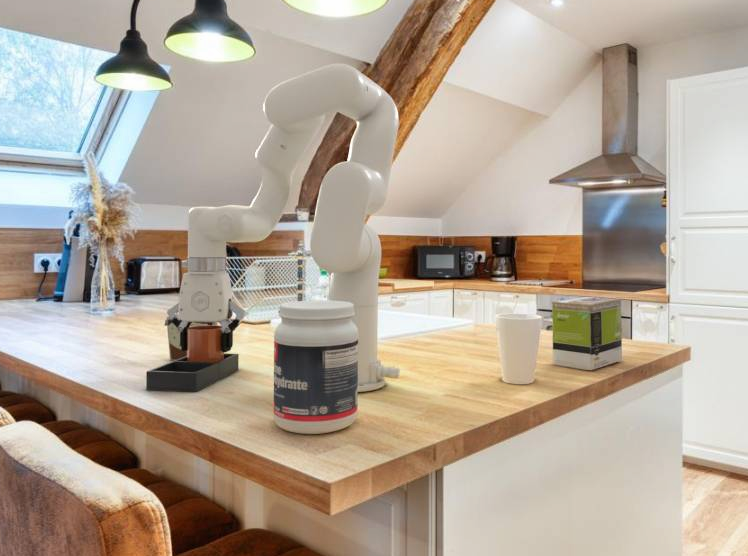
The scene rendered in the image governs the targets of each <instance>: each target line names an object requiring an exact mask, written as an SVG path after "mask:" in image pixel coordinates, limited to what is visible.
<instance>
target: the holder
mask: <svg viewBox="0 0 748 556" xmlns="http://www.w3.org/2000/svg"><path fill="white" fill-rule="evenodd" d="M238 371H239V353H227V352H224V359H223V360H221V361H219V362H190V361H187V356H185V357H183V358H180V359H177V360H175V361H170V362H166V363H164V364H162V365H159V366H157V367H154V368H152V369H149V370H146V372H145V373H146V375H145V376H146V377H145V378H146V379H145V380H146V381H145V383H146V384H145V385H146V387H145V390H146V391H157V392H158V391H159V392H160V391H163V392H183V393H184V392H185V393H186V392H187V393H198V392H199V391H201V390H203V389H205V388H207V387H209V386H211V385H212V384H215V383H216V382H218V381H220V380H222V379H224V378H226V377H228V376H231V375H232V374H234V373H235V372H238Z"/></svg>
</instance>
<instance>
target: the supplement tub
mask: <svg viewBox="0 0 748 556" xmlns="http://www.w3.org/2000/svg"><path fill="white" fill-rule="evenodd" d="M354 315H355V313H354V304H353V303H350V302H344V301H329V299H327V300H325V299H324V300H316V299H315V300H295V301H287V302H283V303H281V304H279V313H278V316H279V317H280V318H281V322H280V323H279V324H278V325H277V326H276V328H275V330H274V334H273V404H272V405H273V410H272V411H273V413H272V417H273V421H274V422H275V424H276V425H277V426H278V427H279V428H280V429H282V430H284V431H287V432H291V433H296V434H301V435H321V434H327V433H333V432H337V431H340V430H343V429H345V428H348V427H350V426H351V425H352V424H353V423H354V422H355V421H356V420H357V417H358V404H359V403H358V402H359V400H358V397H359V395H358V393H359V392H358V336H359V334H358V329H357V327H356V325H355V324H354V323H353V322H352V316H354Z"/></svg>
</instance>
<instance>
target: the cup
mask: <svg viewBox="0 0 748 556" xmlns="http://www.w3.org/2000/svg"><path fill="white" fill-rule="evenodd" d="M222 333H224V330H223V328H222V327H221V325H219V324H218V325H202V326H193V327H189V328H187V361H190V362H219V361H221V360H223V359H224V353H225V352H222Z"/></svg>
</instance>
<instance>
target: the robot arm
mask: <svg viewBox="0 0 748 556" xmlns="http://www.w3.org/2000/svg"><path fill="white" fill-rule="evenodd" d="M334 112H337V113H338V114H341V115H343V116H345V117H347V118H349V119H352V120H353V121H354V122H355V123H356V128H355V130H354V132H353V135H352V137H351V140H350V144H349V151H348V156H347V159H346V160H347V161H341V162H339V163H336V164H334V165H333V166H332V167H331V168H329V170H328V171H327V172H326V174H325V175H324V176H323V179H322V181H321V183H320V187H319V191H318V197H317V201H316V205H315V212H314V218H313V222H312V227H311V234H310V242H309V243H310V244H309V246H310V247H309V248H310V254H311V258H312V260H313V261H314V263H315V264H316V265H317V266H318V267H319V268H320V269H321V270H323V271H324V272H327V273H331V274H330V279H329V286H328V301H344V302H350V303H353V304H354V313H355V315H354V316H352V322H353V323H354V324H355V325H356V327H357V329H358V334H359V336H358V393H364V392H365V393H366V392H372V391H375V390H379V389H381V388H383V387H384V386H385V385H386V379H385V378H387V379H399V378H400V375H401V374H400V370H401V369H400V368H399V367H396V366H384V364H382V359H378V327H379V325H378V322H379V321H378V317H379V315H378V313H379V312H378V311H379V307H378V305H379V279H380V271H381V263H382V243H381V240H380V237H379V235H378V233H377V232H376V231H375V230H374V229H373V228H372V227H371V226H370V225H368V224H367V223H366V218H367V216H370V215H374V214H376V213H377V212H379V211H380V210H381V209H382V208H383V207H384V204H385V202H386V199H387V196H388V195H387V194H388V189H389V188H388V187H389V182H390V177H391V172H392V166H393V161H394V155H395V154H394V153H395V149H396V143H397V138H398V132H399V125H400V116H399V111H398V107H397V105H396V103H395V100H394V99H393V98H392V97H391V95H390V94H389V93H388V92H386V90H385V89H384V88H382V87H381V86H380V85H379V84H377V82H374V81H373V80H372V79H371V78H369V77H368V76H367V75H365V74H364V73H362V72H361V71H359V70H358V69H357V68H356V67H354V66H352V65H349V64H347V63H343V62H342V63H341V62H340V63H339V62H338V63H331V64H327V65H324V66H321V67H319V68H316V69H313V70H310V71H308V72H305V73H301V74H300V75H297V76H294V77H292V78H289V79H287V80H284V81H282V82H280V83H279V84H277V85H275V86H274V87H272V88H271V89H270V90H269V92H267V95H266V96H265V98H264V101H263V113H264V116H265V118H266V120H267V121H268V122H269V123H270V124H271V125H270V126H269V129H268V130H267V132H266V133H265V136H264V137H263V140H262V141H261V143H260V144H259V146H258V148H257V149H256V150H255V154H254V157H255V161H256V163H257V165H258V167H259V170H260V173H261V183H260V187H259V189H258V191H257V194H256V196H255V197H254V199H253V200H252V202H251V204H250V205H238V204H228V205H222V206H194V207H191V208H190V209H189V211H188V214H187V257H186V260H182V262H181V266H182V267H183V268H186V271H187V272H183V275H182V277H181V281H180V283H181V284H180V287H179V297H178V303H177V304H175V305H174V306H172V307H170V308H169V309H167V311H166V313H167V316H168V317H170V318H171V319H172V323H173V324H174V325H175V326H176V327H177V328H178V331H179V332H180V346H181V351H186V350H187V328H189V327H190V326H191V325H192V323H193V322H218V324H219V326H221V327H222V328H223V330H224V333H222V352H224V353H228V352H230V351H231V350H232V348H233V347H234V346H233V345H234V331H236V329H237V328H238V327H239V326H240V325H241V323H242V321H243V320H244V319H245V317H246V316H247V311H246V310H244V309H243V308H242V307H240V306H239V305H237V304H236V303H235V302H234V300H233V288H232V283H231V277H230V274H229V272H227V243H258V242H261V241H263V240H265V239H266V238H268V237H269V236H270V235H271V234H272V233H273V231H274V229H275V228H276V227H277V225H278V223H279V222H280V220H281V218H282V217H283V215H284V213H285V212H286V209H287V207H288V205H289V201H290V197H291V194H292V193H291V192H292V188H293V178H294V175H295V173H296V171H297V169H298V167H299V166H300V164H301V162H302V161H303V159H304V157H305V155H306V153H307V152H308V151H309V149H310V148H311V145H312V144H313V142H314V140H315V138H316V137H317V135H318V133H319V132H320V130H321V128H322V126H323V124H324V122H325V118H326V115H327V114H330V113H334ZM233 314H235V315H236V316H235V318H234V319H233V320H231V318H232V317H233Z"/></svg>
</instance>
